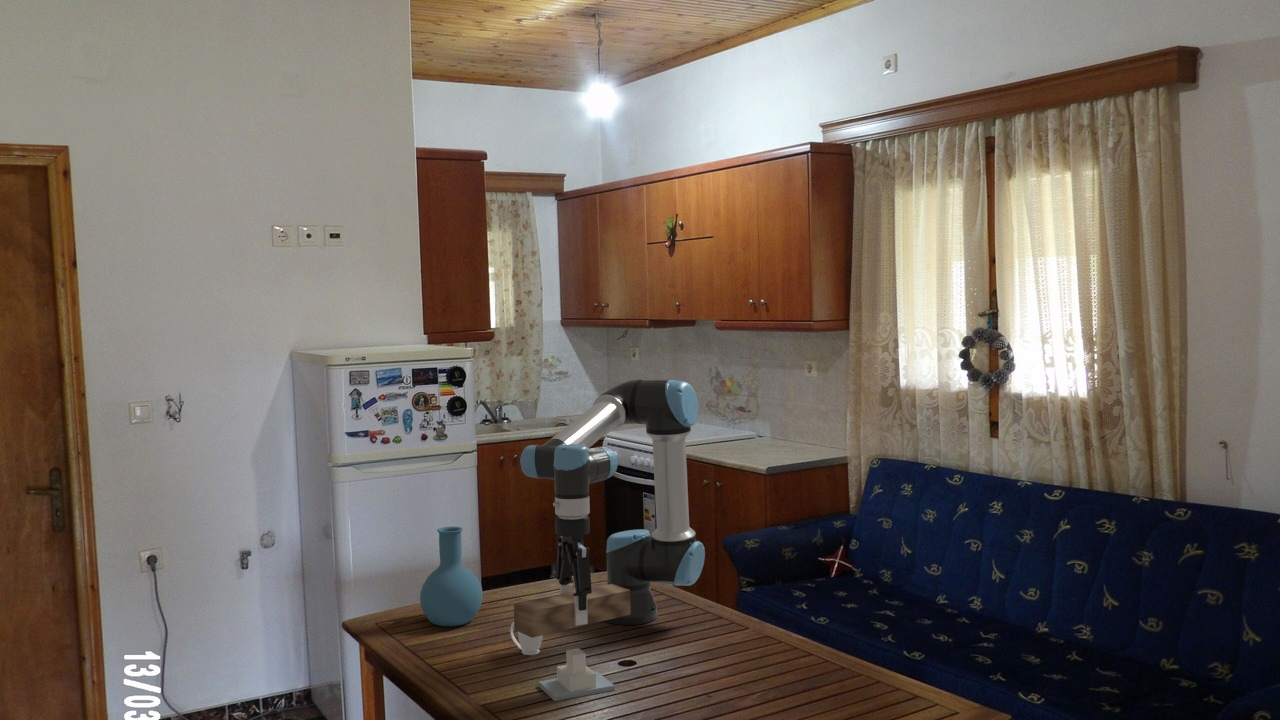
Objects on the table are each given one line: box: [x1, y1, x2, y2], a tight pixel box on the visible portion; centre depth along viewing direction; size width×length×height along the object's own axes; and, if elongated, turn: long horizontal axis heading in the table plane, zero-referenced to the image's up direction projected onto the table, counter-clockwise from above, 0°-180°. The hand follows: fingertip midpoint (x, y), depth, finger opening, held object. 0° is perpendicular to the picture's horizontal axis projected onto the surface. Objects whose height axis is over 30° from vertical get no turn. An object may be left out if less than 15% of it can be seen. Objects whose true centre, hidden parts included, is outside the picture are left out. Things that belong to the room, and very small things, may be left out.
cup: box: [509, 620, 544, 656], centre depth 247 cm, size 7×10×8 cm
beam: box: [513, 584, 631, 638], centre depth 222 cm, size 26×7×6 cm, turn 128°
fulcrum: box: [538, 647, 616, 702], centre depth 222 cm, size 14×10×8 cm
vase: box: [419, 526, 483, 628], centre depth 272 cm, size 16×16×25 cm
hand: (573, 618), depth 222 cm, fingers closed on beam, 8 cm apart
